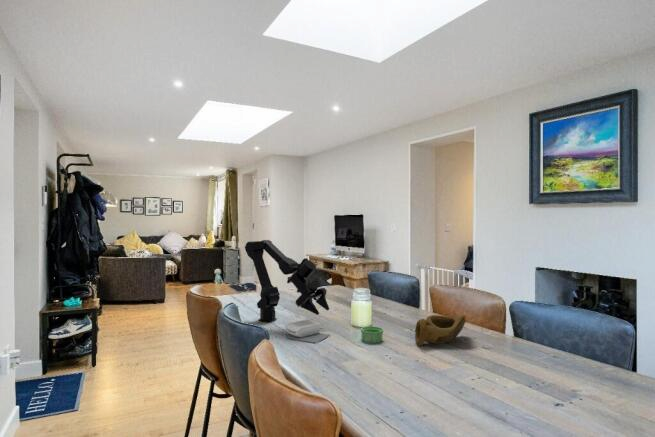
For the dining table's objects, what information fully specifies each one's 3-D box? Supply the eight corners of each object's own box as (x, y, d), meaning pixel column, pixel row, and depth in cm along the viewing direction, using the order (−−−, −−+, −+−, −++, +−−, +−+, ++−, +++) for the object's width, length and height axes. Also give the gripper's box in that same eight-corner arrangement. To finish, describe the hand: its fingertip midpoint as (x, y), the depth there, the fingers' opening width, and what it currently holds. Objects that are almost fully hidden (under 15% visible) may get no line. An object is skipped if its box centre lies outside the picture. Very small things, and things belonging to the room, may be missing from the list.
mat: (286, 338, 159) (286, 337, 159) (301, 331, 170) (301, 330, 170) (316, 343, 153) (316, 342, 153) (330, 335, 163) (330, 334, 163)
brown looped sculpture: (484, 331, 144) (424, 320, 145) (474, 360, 148) (416, 350, 149) (470, 305, 162) (416, 296, 162) (461, 332, 166) (410, 323, 166)
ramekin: (357, 341, 156) (357, 330, 156) (365, 335, 164) (365, 325, 164) (378, 344, 152) (378, 333, 152) (386, 338, 160) (386, 327, 160)
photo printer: (306, 328, 173) (282, 333, 165) (306, 318, 173) (282, 323, 165) (321, 333, 165) (297, 339, 157) (321, 323, 165) (297, 328, 157)
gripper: (301, 274, 165) (325, 304, 160) (323, 269, 181) (344, 296, 176) (285, 292, 169) (308, 321, 163) (308, 285, 185) (329, 312, 180)
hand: (323, 311), depth 171 cm, fingers open, 9 cm apart
